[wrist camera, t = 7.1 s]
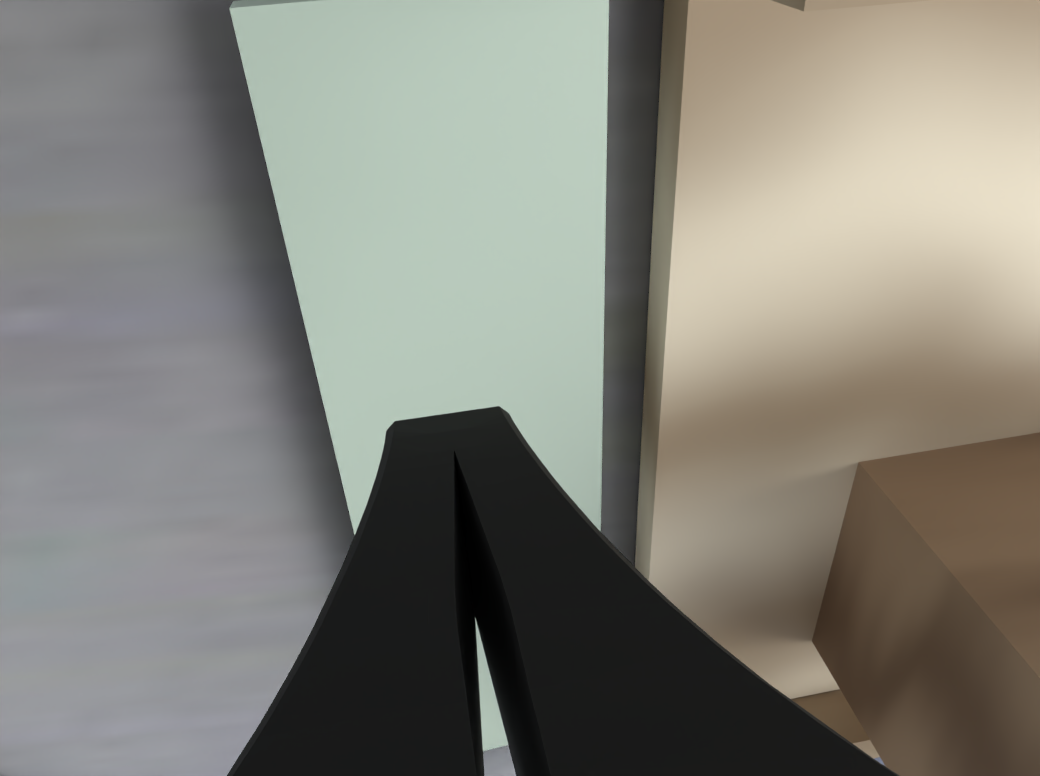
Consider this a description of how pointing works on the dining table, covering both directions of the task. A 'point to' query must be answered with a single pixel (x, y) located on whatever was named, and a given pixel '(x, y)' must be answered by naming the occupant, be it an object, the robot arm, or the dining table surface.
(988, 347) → the cart bed
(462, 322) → the panel
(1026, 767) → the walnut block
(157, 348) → the dining table surface
